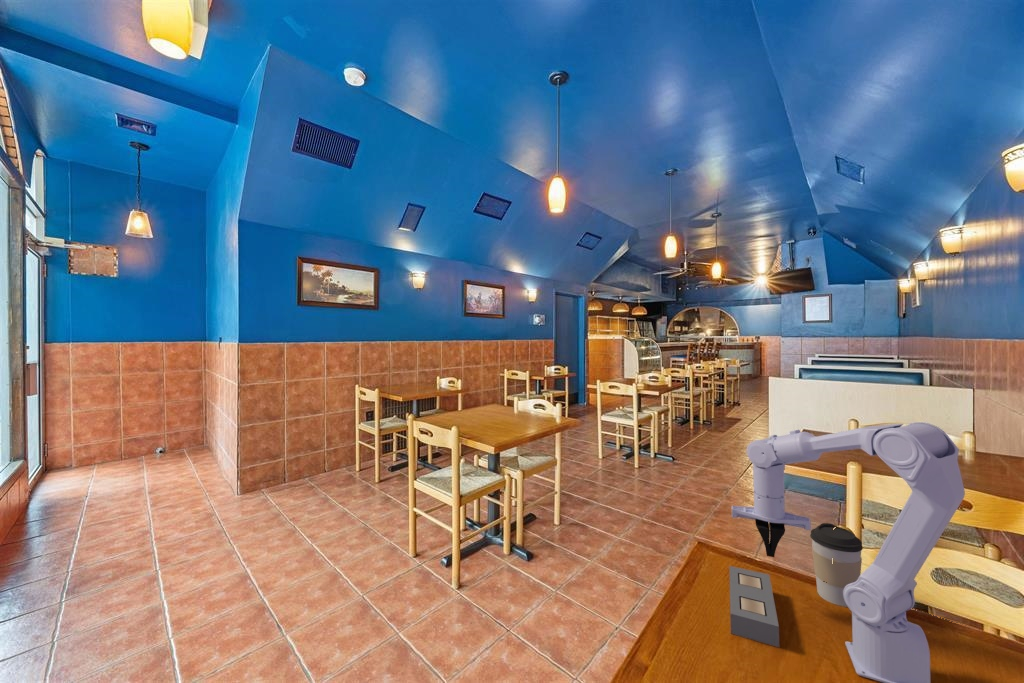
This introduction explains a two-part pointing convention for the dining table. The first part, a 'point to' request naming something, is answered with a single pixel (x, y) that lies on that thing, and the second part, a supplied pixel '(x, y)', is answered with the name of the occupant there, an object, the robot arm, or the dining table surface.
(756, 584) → the far peg
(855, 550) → the coffee cup
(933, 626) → the dining table surface
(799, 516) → the robot arm
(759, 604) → the near peg
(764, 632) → the grey peg hole board
